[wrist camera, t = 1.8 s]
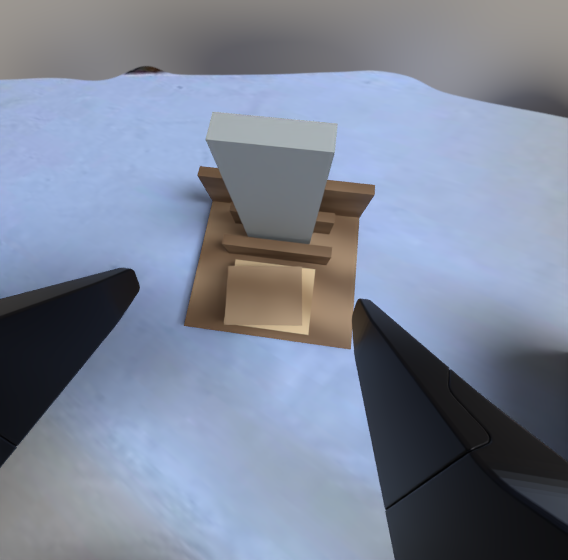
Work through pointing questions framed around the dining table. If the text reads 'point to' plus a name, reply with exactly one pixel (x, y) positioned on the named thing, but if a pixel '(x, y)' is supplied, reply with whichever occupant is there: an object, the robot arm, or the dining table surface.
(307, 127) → the gray rectangular block
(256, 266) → the offcut stack
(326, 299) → the walnut rack
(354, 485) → the dining table surface
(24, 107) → the dining table surface
